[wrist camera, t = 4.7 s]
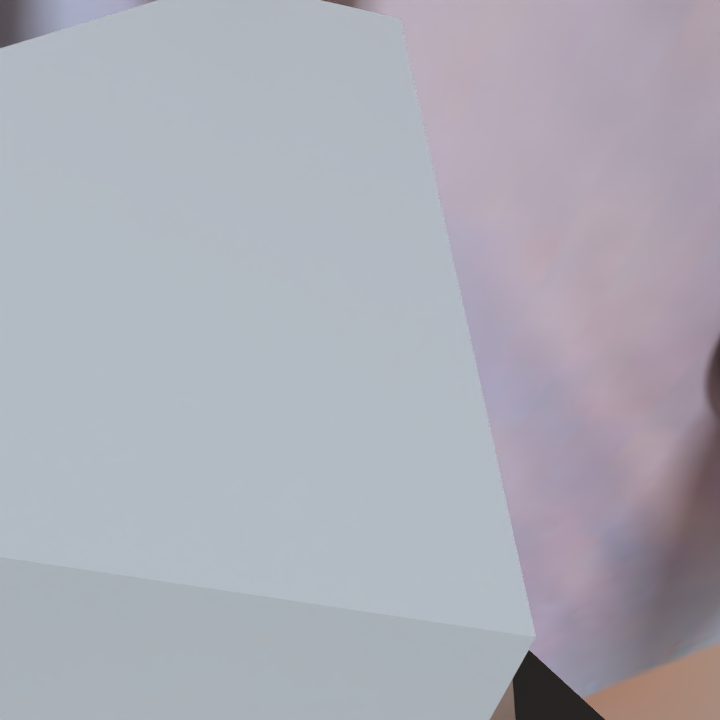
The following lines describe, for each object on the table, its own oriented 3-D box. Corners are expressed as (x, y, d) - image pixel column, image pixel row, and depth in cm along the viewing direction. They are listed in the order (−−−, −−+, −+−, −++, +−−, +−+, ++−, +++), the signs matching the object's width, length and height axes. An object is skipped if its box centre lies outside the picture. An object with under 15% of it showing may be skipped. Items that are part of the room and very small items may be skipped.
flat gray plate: (226, -21, 11) (-1115, 388, 1) (400, 17, 11) (535, 640, 1) (192, 431, 17) (-101, 1205, 7) (310, 451, 17) (205, 1227, 7)
